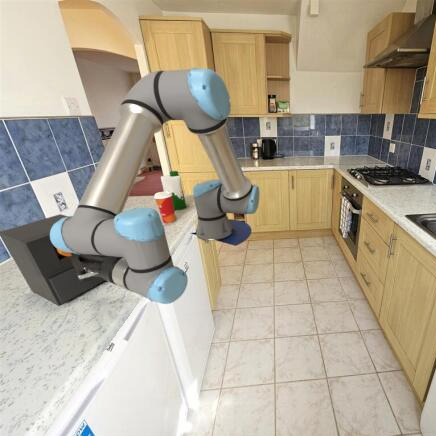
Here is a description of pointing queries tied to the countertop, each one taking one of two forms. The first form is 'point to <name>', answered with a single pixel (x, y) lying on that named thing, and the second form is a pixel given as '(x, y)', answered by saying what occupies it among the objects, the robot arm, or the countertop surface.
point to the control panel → (35, 246)
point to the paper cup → (165, 206)
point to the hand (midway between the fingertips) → (72, 249)
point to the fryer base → (44, 284)
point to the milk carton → (174, 189)
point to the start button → (64, 253)
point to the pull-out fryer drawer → (72, 283)
